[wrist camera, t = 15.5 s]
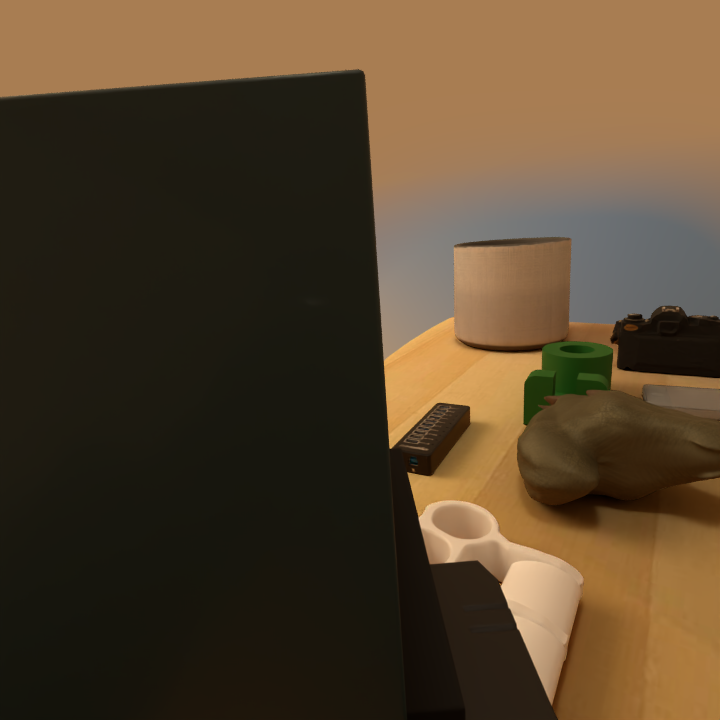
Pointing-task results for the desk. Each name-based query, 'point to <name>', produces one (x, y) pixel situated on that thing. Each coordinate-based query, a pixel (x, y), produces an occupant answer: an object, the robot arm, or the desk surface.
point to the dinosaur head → (613, 448)
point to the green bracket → (567, 373)
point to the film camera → (669, 343)
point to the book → (194, 407)
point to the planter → (512, 292)
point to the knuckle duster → (511, 579)
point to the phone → (685, 399)
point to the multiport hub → (433, 437)
